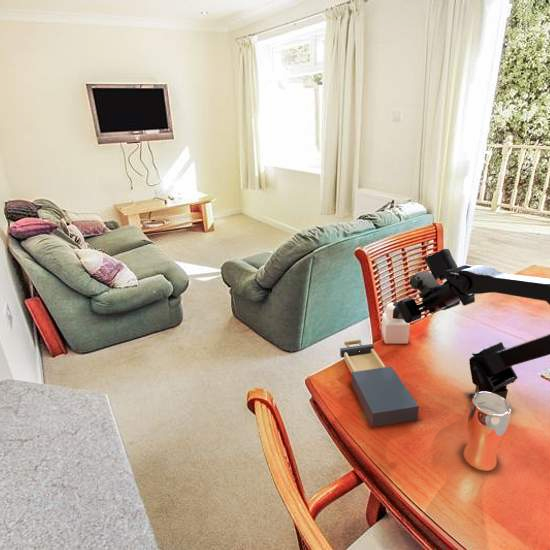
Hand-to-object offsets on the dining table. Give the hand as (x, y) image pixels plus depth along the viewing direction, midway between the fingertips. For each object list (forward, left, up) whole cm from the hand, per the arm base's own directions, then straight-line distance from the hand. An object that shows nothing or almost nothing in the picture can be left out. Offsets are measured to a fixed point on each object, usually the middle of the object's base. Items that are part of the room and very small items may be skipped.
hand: (411, 312), depth 110 cm
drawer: (-5, +17, -11) cm, 21 cm away
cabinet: (-20, +17, -12) cm, 29 cm away
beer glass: (-40, +4, -12) cm, 42 cm away
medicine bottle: (+6, +2, -12) cm, 14 cm away
